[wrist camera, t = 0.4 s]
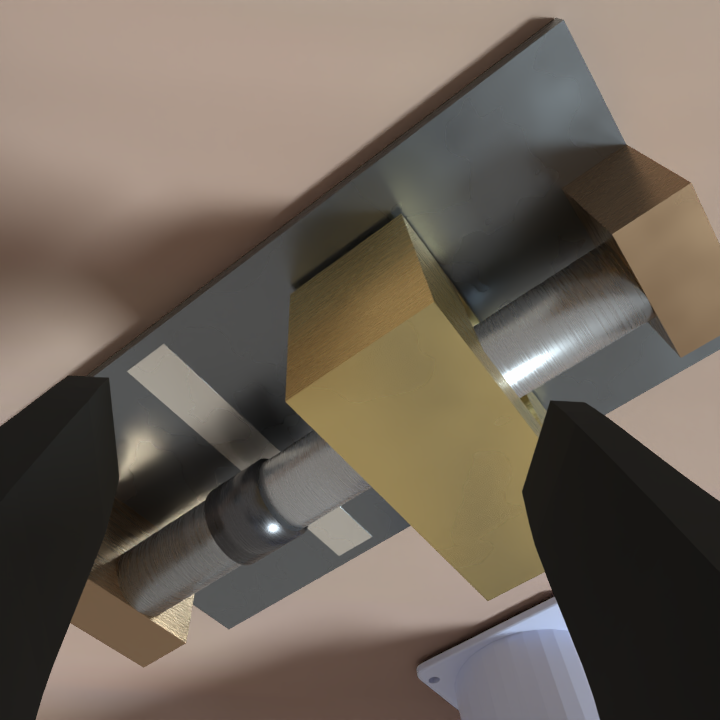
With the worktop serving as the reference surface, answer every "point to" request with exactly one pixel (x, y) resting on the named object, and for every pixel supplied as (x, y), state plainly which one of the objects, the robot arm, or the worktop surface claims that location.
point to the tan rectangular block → (417, 403)
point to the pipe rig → (495, 331)
